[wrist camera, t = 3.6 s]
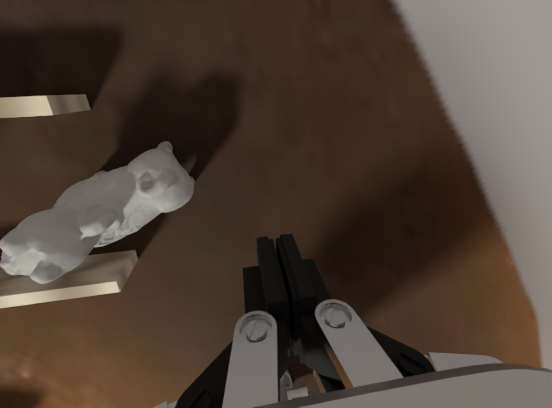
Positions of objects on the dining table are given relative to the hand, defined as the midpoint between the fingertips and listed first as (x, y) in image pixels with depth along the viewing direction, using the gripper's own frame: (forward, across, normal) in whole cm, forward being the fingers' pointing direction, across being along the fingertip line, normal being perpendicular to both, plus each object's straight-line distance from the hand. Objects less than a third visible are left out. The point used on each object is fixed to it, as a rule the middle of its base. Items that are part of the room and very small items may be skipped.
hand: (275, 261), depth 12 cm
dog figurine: (+15, +11, +1) cm, 19 cm away
